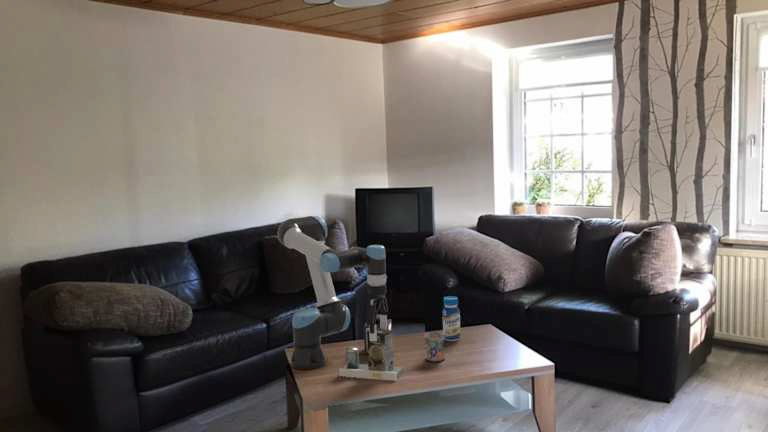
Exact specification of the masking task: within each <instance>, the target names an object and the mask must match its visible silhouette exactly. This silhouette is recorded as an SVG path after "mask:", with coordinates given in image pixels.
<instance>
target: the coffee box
mask: <svg viewBox="0 0 768 432" xmlns="http://www.w3.org/2000/svg"><path fill="white" fill-rule="evenodd" d="M376 334H377V341H370V337H369V330H368V331H367V345H368V355H367V359H368V360H367V362H368V364H367V365H368V368H369V369H370V370H375V371H387V372H389V371H391V370H393V369H394V367H395V352H394V351H395V350H394V347H395V346H394V330H393V329H392V330H386V329H381V328H376Z"/></svg>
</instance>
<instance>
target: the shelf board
mask: <svg viewBox="0 0 768 432" xmlns="http://www.w3.org/2000/svg"><path fill="white" fill-rule="evenodd" d="M338 369H339V371H338V372H339V374H338V375H339V377H341V376H343V377H344V376H345V378H354V377H356V379H368V380H382V381H383V380H384V381H396V382H397V381H398V379H399V378H400V377H401V376H402V374H403V373H404V367H402V366H394V369H393V370H391V371H389V372H387V371H375V370H370V369H369V368H368V364H362V363H359V368H358V369H347V364H345V366H344V367H343V368H342V367H340V368H338ZM343 377H342V378H343Z"/></svg>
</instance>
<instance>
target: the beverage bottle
mask: <svg viewBox="0 0 768 432" xmlns="http://www.w3.org/2000/svg"><path fill="white" fill-rule="evenodd" d="M443 305H444V306H443V309H442V317H441V319H442V333H443V334H445V338H444V341H447V342H455V341H456V342H457V341H459V340H460V339H461V338H462V337H461V315H460V313H461V310H460V308H459V307H458V305H459V299H458V297H457V296H453V295H452V296H451V295H448V296H444V297H443Z"/></svg>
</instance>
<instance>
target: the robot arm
mask: <svg viewBox="0 0 768 432" xmlns="http://www.w3.org/2000/svg"><path fill="white" fill-rule="evenodd" d="M277 238H278V241H279V242H280V243H281V245H283V247H286V248H288V249H293V250H294V249H295V250H296V251H298V252H299V253H301V254H302V255H305V259H306V262H307V265H308V266H307V267H308V270H309V273H310V277H311V282H312V285H313V289H314V293H315V297H316V301H317V303H316V306H315V307H308V308H302V309H299V310H298V311H296V312H294V314H293V315H292V318H291V319H292V321H291V322H292V323H291V325H292V335H293V336H292V337H293V339H292V340H293V350H292V354H291V358H290V367H291V368H293V369H295V368H296V370H301V369H308V370H314V369H313V368H315V369H318V367H319V368H321V367H323V366H325V365H326V364H325V363H327V359H326V358H327V357H326V353H325V351H324V349H323V346H322V339H321V338H323V337H327V336H330V335H333V334H339V333H340V332H344V331H346V330H347V329H348V328H349V325H350V322H351V313H350V310H349V308H348V306H347V305H345V304H343V303H342V300H341V299H340V298H339V297H337V294H336V291H335V287H334V284H333V279H332V276H331V273H335V272H338V271H344V270H349V269H354V268H358V267H359V268H365V269H366V270H367V271H366V277H367V278H366V279H367V280H366V283H367V294H368V295H369V296H371V299H369V300H368V313H367V319H366V322H367V325H369V337H370V341H377V334H376V325H375V323H376V318H377V314H378V312H379V313H380V328H381V329H386V330H387V319H388V315H389V314H390V311H389V308H388V307H389V306H388V301H387V296H386V294H387V284H386V283H387V278H388V276H387V269H386V268H387V267H386V266H387V262H386V260H387V258H386V257H387V254H386V248H385V246H384V245H381V244H372V245H368V246H367V247H366V248H364V247H360V246H352V247H350V248H349V249H348V250H346V249H345V250H340V251H336V250H334V249H332V248H331V247H329V246H327V245H326V244H325V243H326V240H325V239H327V238H328V226H327V224H326V222H325V220H324V219H322V218H321V217H320V216H317V215H308V216H302V217H293V218H288V219H285V220H284V221H283V222H281V223H280V225H279V226H278V230H277ZM386 314H387V315H386ZM371 321H372V322H371ZM324 364H325V365H324ZM320 366H321V367H320Z"/></svg>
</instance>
